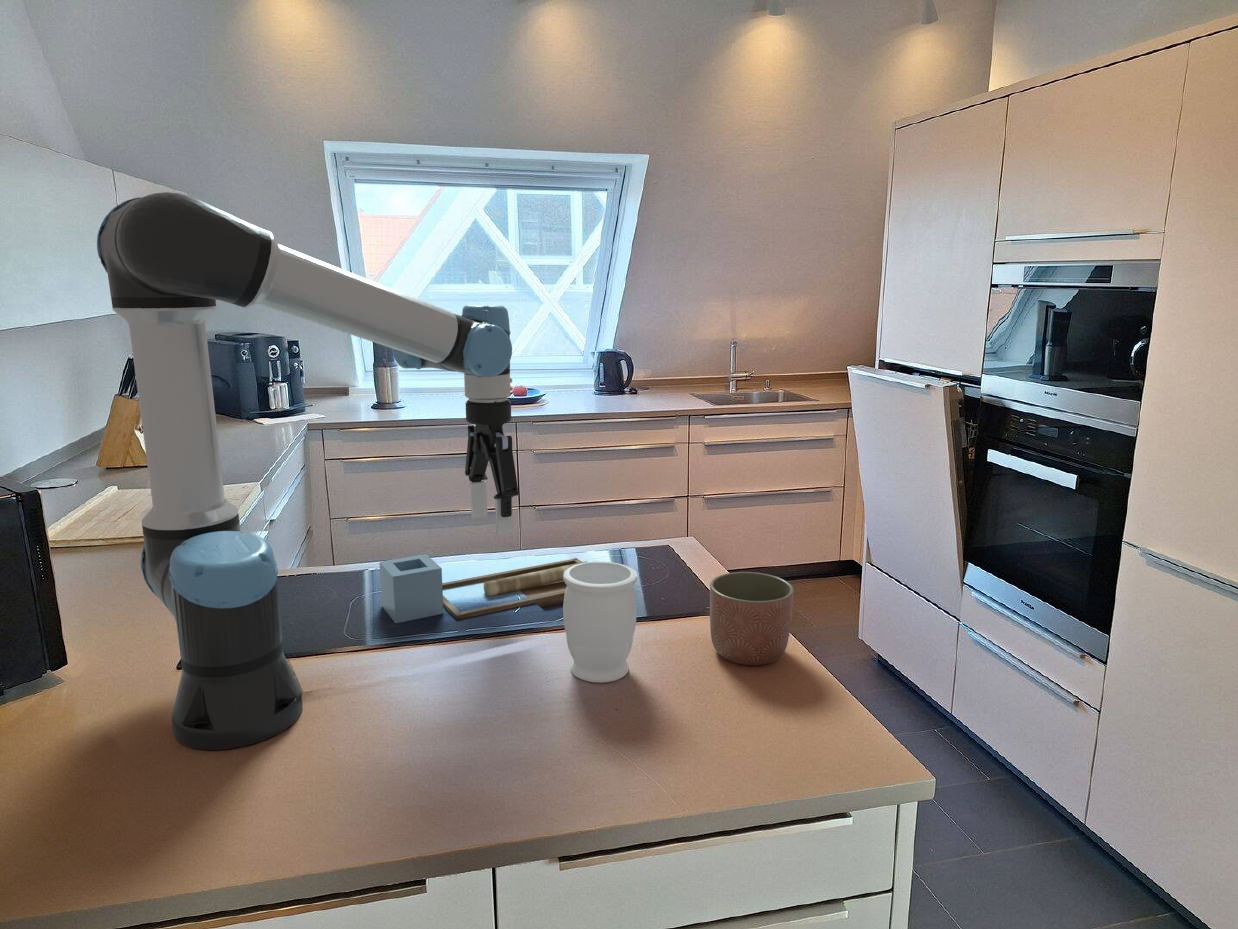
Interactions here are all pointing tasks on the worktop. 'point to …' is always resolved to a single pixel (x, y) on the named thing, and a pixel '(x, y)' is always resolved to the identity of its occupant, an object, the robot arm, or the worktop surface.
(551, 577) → the dowel
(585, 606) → the jar
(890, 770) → the worktop surface
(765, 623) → the planter
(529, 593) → the tray
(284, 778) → the worktop surface
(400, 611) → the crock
